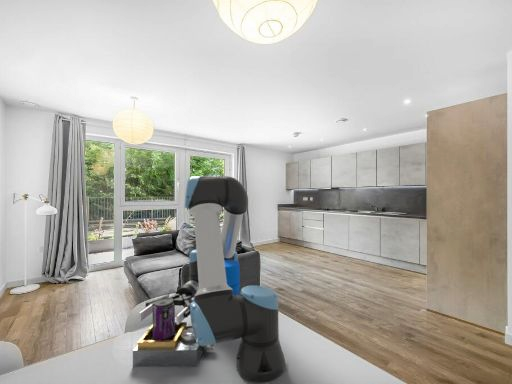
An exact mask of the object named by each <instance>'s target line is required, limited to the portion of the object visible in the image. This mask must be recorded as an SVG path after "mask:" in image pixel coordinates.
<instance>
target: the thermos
mask: <svg viewBox="0 0 512 384" xmlns="http://www.w3.org/2000/svg"><path fill="white" fill-rule="evenodd" d="M224 263H225V272H226V280H227V285H228V286H229V287H231V288H232V290H233V295H240V292H241V288H240V287H241V283H240V280H241V279H240V277H241V275H240V272H241V271H240V270H241V268H240V262H239V260H238V261H235V260H224Z"/></svg>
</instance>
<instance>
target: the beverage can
mask: <svg viewBox="0 0 512 384" xmlns="http://www.w3.org/2000/svg"><path fill="white" fill-rule="evenodd" d="M175 307H176V305H175V304H174V302H173V299H172V298H169V297H166V298H160V299H158V300H156V301H155V302H154V306H153V312H152V324H153V339H155V340H167V339H169V338H171V337H172V336H173V335H174V334H175V322H176V315H175V314H176V312H175V311H176V308H175Z"/></svg>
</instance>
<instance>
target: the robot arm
mask: <svg viewBox="0 0 512 384" xmlns="http://www.w3.org/2000/svg"><path fill="white" fill-rule="evenodd" d="M248 207H249V197H248V193H247V190H246V188H245V187H244V184H242V183H241V181H239V180H238V179H236V178H235V177H233V176H227V175H226V176H214V175H213V176H211V175H210V176H207V175H205V176H204V175H199V176H197V175H192V176H189V178H188V179H187V181H186V190H185V195H184V208H185V209H189V211H188V212H189V214H190V215H191V216H192V217H194V218H193V219H194V220H193V221H194V229H195V230H194V233H195V234H194V235H195V249H193V250H191V251H190V252H189V259H188V261H189V281H187V282H186V283H184V284H183V285H182V286H181V287H179V288H178V289H176V292H175V294H173V295H170V293H167V294H164V295H163V296H160V297H157V298H155V299H152V300H148V301H147V302H145V307H144V308H143V309H142V310H141V311H139V312H138V321H139V322H142V321H143V320H145V319H147V317H149V316H150V315H151V314H153V306H154V302H155V301H156V300H158V299H160V298H166V297H169V298H172V299H173V302H174V304H175V307H177V306H179V307H180V306H182V307H183V309H182V310H181V311H180V312H179V313H178V314H177V315H175V322H176V324H177V325H179V324H180V323H181V322H184V319H186V318H188V317H189V316H190V322H191V326H192V328H193V332H194V336H195V339H196V342H197V343H198V344H199V345H200V346H206V345H212V344H213V345H214V346H215V345H216V344H219V343H221V344H222V343H225V342H228V341H233V340H236V339H241V340H240V343H239V347H238V350H237V353H236V358H235V365H236V366H235V367H236V370H237V372H238V374H239V375H240V376H241V377H242V378H243V379H245V380H248V381H250V382H253V383H254V382H255V383H267V382H270V381H271V382H272V381H273V380H275V379H277V378H278V377H280V376H281V375H282V374H283V372H284V370H285V366H286V364H285V363H286V362H285V360H286V359H285V354H284V351H283V348H282V345H281V342H280V338H279V337H280V336H279V335H280V334H279V332H280V331H279V307H280V306H279V301H278V299H279V297H278V295H277V292H275V290H273V289H271V288H268V287H266V286H262V285H253V284H252V285H246V286H244V287H242V288H240V295H233V290H232V288H231V287H229V286H228V285H227V280H226V272H225V263H224V260H235V261H238V262H239V255H238V253H237V251H236V248H237V244H238V240H239V235H240V230H241V226H242V223H243V216H244V214H246V213H247V211H248ZM223 209H224V217H223V222H222V227H221V221H220V214H221V212H222V211H223Z"/></svg>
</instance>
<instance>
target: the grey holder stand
mask: <svg viewBox="0 0 512 384" xmlns="http://www.w3.org/2000/svg"><path fill="white" fill-rule="evenodd" d="M214 348H215V345H213V344H212V345H206V346H200V345H199V344H198V343H197V342H196V339H195V336H194V332H193V328H192V325H188V323H187V321H182V322H181V323H180V324H179V325H177V324H176V321H175V334H174V335H173V336H172V337H171V338H169V339H167V340H155V339H153V323H152V324H151V326H149V328H148V329H147V330H146V331H145V333H144V334H143V335H142V336H141V338H139V340H137V344H136V346H135V347H134V348H133V349H132V367H133V368H141V367H142V368H145V367H146V368H147V367H148V368H149V367H155V368H157V367H158V368H159V367H162V368H165V367H166V368H167V367H170V368H171V367H172V368H173V367H174V368H175V367H181V368H182V367H198V365H199V361H200V359H201V355H202V353H203V351H210V350H211V351H213V350H215V349H214Z"/></svg>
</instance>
